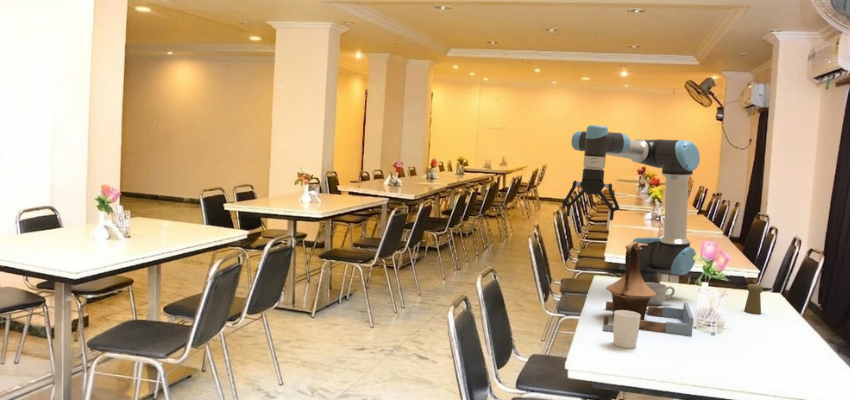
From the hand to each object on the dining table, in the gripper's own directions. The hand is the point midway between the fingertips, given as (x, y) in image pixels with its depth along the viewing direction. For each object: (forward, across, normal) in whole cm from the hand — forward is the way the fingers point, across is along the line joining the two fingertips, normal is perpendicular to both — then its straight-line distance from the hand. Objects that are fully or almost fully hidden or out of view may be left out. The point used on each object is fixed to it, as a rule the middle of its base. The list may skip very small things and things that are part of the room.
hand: (588, 227), depth 256 cm
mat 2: (+31, +19, +12) cm, 38 cm away
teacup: (+31, +27, +27) cm, 49 cm away
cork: (+31, +63, +33) cm, 78 cm away
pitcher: (+31, +16, -5) cm, 35 cm away
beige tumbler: (+31, +15, -39) cm, 52 cm away
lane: (+31, +18, -5) cm, 36 cm away
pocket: (+31, +32, -5) cm, 45 cm away
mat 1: (+31, +13, -21) cm, 40 cm away
